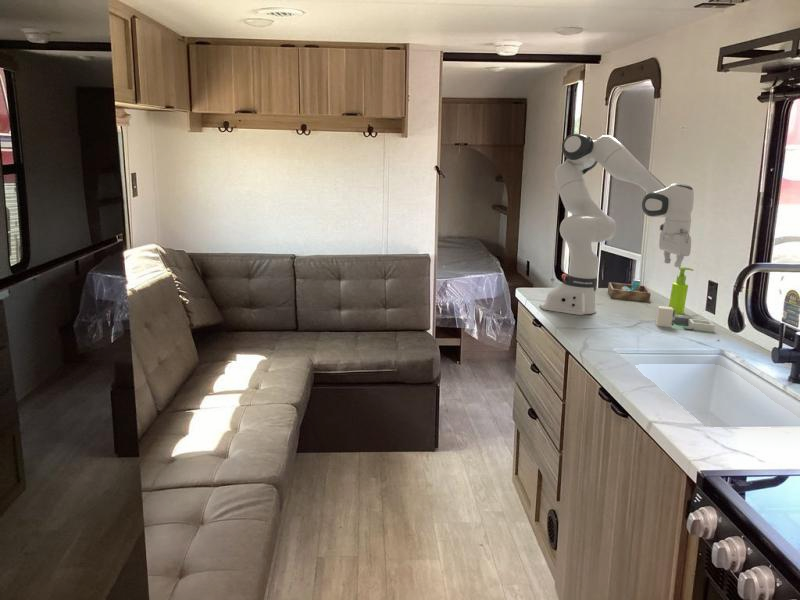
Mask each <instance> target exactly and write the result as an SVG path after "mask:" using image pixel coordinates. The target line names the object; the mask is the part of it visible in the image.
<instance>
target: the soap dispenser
mask: <svg viewBox="0 0 800 600" xmlns="http://www.w3.org/2000/svg"><path fill="white" fill-rule="evenodd" d="M678 269H679V270H680V271H679V274H677V276H676V281H675V282H672V284H671V285H672V286H671V293H670V298H669V305H668V307H672V308H673V309H674V310H675V314H680V315H684V313H685V306H686V301H687V300H686V299H687V295H688V288H689V284H687V283H686V279H687V275H685V273H686V272H685V271H686V270H687V271H691V272H692V271H694V269H693V268H691V267H684V266H683V267H678Z"/></svg>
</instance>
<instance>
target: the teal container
mask: <svg viewBox="0 0 800 600" xmlns="http://www.w3.org/2000/svg"><path fill="white" fill-rule="evenodd" d="M641 283H642V282H641V280H640V279H632V283H631V285H632V287H631V289H630V288H628V287H626V286H624V287H622V288H621V290H628V291H638V292H639V291H640V285H641ZM641 286H642V285H641Z"/></svg>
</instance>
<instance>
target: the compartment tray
mask: <svg viewBox="0 0 800 600" xmlns="http://www.w3.org/2000/svg"><path fill="white" fill-rule="evenodd" d="M671 327H673V329H674V330H675V331H676V330H677V331H685V332H696V333H704V334H712V335H715V334H716V332H715V331H714V330H715V324H714V323H712V321H711V320H704V319H694V318H690V319H689V321H688V325H684V324H675V323H674V325H672V324H671Z"/></svg>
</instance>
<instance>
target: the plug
mask: <svg viewBox="0 0 800 600" xmlns="http://www.w3.org/2000/svg"><path fill="white" fill-rule="evenodd" d="M674 315H675V310H674V309H673V308H672V307H669V306H666V305H665V306H663V305H657V310H656V315H655V322H654V324H655V325H656V327H657V326H659V327H667V328H671V327H672V324H671V323H672V317H674Z"/></svg>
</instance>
